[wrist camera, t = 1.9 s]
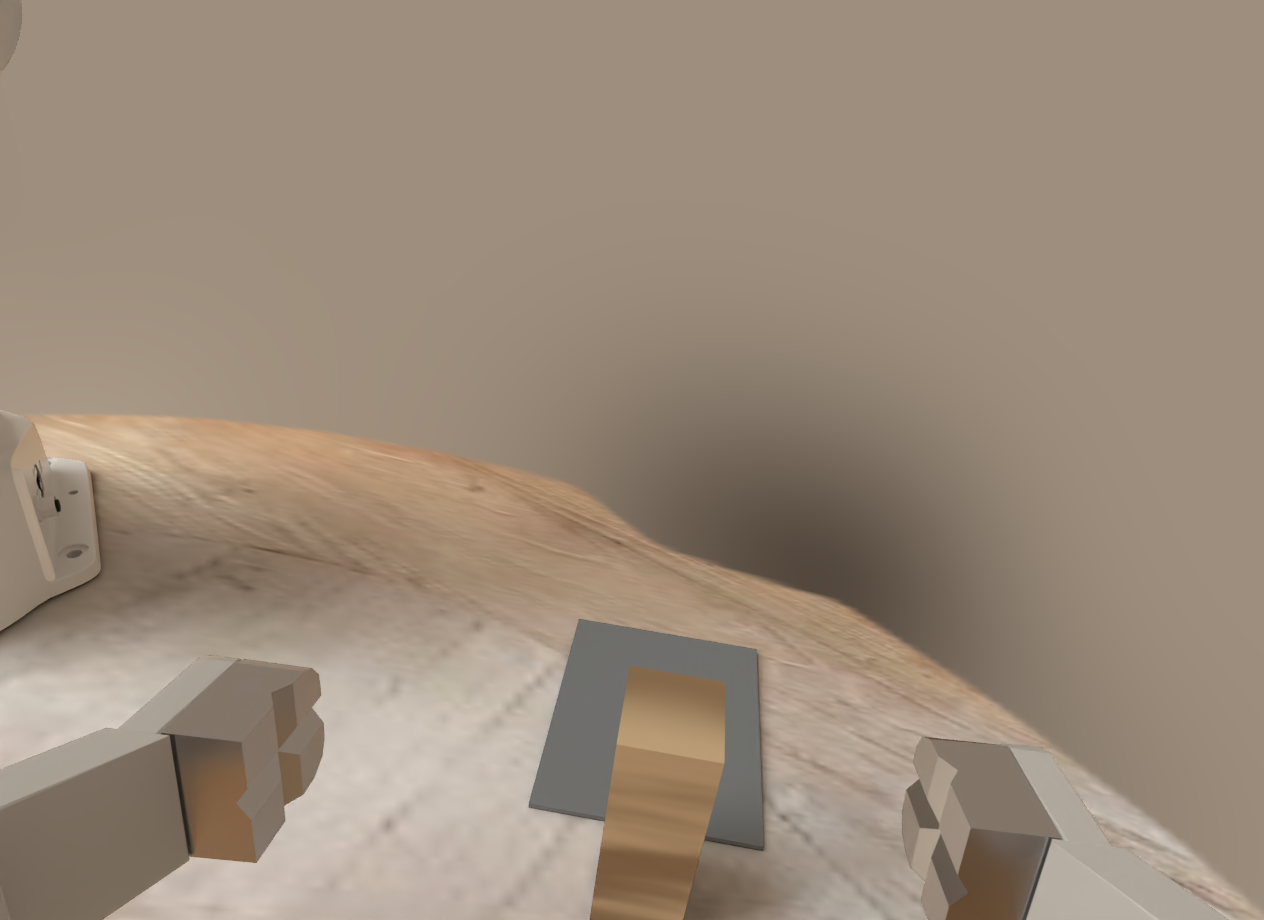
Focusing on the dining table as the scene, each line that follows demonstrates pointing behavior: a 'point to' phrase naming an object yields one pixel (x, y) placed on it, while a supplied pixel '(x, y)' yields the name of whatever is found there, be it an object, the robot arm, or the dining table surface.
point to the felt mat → (593, 715)
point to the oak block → (659, 795)
